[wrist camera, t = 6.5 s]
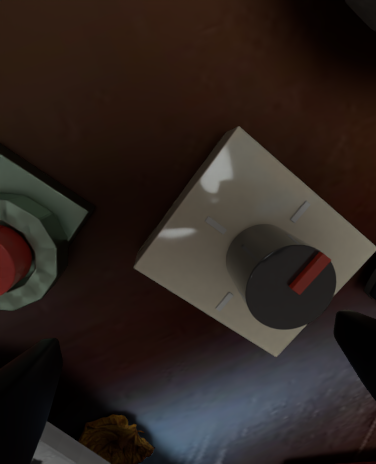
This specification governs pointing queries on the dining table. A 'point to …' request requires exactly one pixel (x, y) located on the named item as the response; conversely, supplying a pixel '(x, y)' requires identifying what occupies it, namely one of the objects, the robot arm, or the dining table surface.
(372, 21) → the bowl
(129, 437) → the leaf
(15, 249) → the red button
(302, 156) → the dining table surface
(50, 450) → the sign
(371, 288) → the toy car
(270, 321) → the stove knob
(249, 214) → the panel
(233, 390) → the dining table surface
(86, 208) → the button box
